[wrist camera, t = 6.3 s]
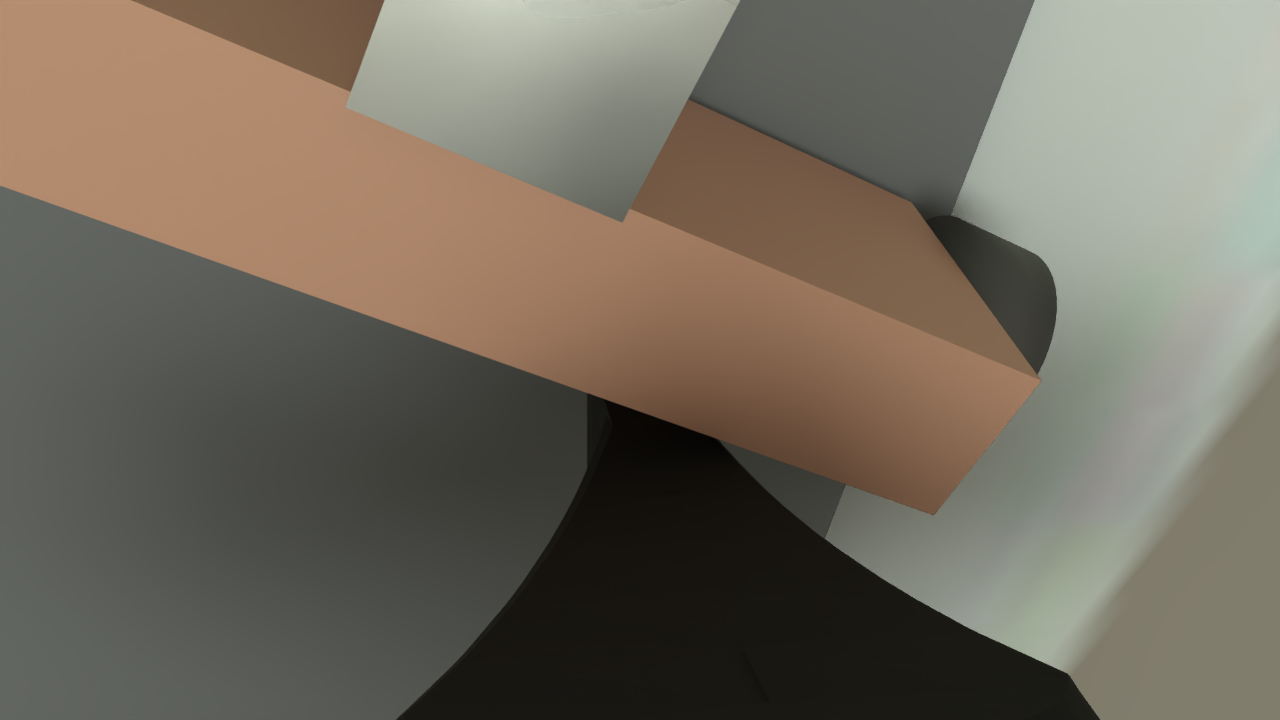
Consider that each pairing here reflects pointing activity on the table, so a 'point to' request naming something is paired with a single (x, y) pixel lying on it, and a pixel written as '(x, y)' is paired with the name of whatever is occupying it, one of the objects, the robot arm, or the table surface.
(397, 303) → the tan rectangular bar
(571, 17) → the latch block
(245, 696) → the mat
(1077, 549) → the table surface
